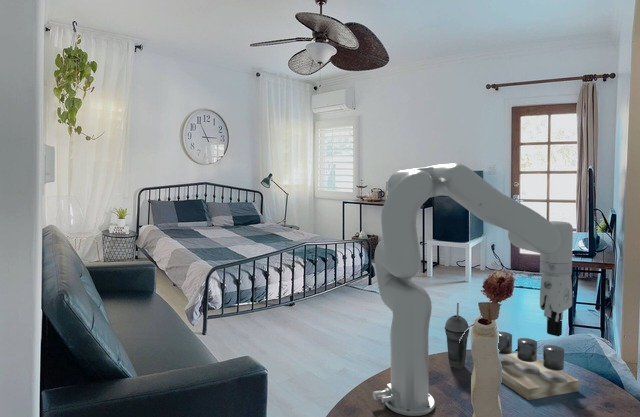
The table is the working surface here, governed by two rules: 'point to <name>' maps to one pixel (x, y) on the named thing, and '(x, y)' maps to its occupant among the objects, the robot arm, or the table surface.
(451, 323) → the beverage cup
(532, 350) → the knob mid
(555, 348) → the knob right
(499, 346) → the knob left
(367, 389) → the table surface
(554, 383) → the mount plate
